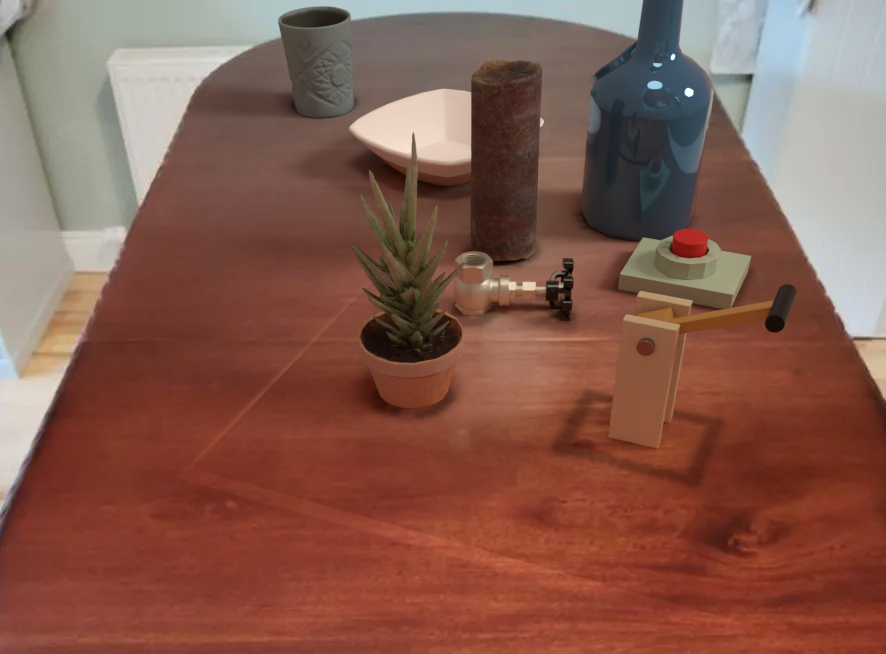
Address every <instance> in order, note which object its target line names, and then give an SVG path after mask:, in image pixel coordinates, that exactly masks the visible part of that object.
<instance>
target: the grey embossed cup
mask: <svg viewBox="0 0 886 654" xmlns="http://www.w3.org/2000/svg"><path fill="white" fill-rule="evenodd" d="M277 24H278V28H279V33H280V37H281V42H282V45H283V49H284V57H285V59H286V65H287V69H288V75H289V79H290V82H291V84H292V85H291V91H292V96H293V101H294V100H295V101H294V107H295V110H296V111H297V113H298V114H300V116H301V115H302V116H304V117H308V118H314V119H327V118H334V117H335V118H336V117H339V116H343V115H346V114H347V113H349V112H351V111H352V110H353V109H354V105H355V94H354V79H353V78H354V69H353V67H354V64H353V63H354V62H353V61H354V60H353V56H352V48H353V47H352V15H351V12H349V11H348V10H346V9H344V8H340V7H336V6H329V5H328V6H324V5H323V6H322V5H321V6H308V7H307V6H306V7H301V8H296V9H292V10H289V11H286V12H285V13H283V14H281V15H280V16H279V17H278V20H277ZM296 102H297V103H296Z"/></svg>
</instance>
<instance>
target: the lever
mask: <svg viewBox="0 0 886 654" xmlns="http://www.w3.org/2000/svg"><path fill="white" fill-rule="evenodd" d="M797 294H798V292H797V288H796V287H795V286H794V285H793V284H790V283H784V284H782V285H780V286H779V288H778V289H777V291H776V294H775V297H774V299H772V300H768V301H761V302H757V303H751V304H744V305H740V306H735V307H731V308H728V309H718V310H712V311H707V312H700V313H695V314H690V315H689V316H684V317H678V318H674V316H673V312H672V309H671V308H666V309H660V310H655V311H649V312H644V313H639V314H638V316H639V317H644V318H649V319H654V320H659V321H664V322H669V323H674V324H679V325H680V329H679V334H684V333H687V334H689V333H695V332H701V331H706V330H713V329H718V328H724V327H730V326H737V325H743V324H747V323H754V322H761V321H764V327H765V329H766V330H767V331H768V332H770V333H773V334H774V333H777V334H778V333H780V332H781V331H783V330H784V328H785V326H786V323H787V322H788V318H789V317H790V313H791V310H792V308H793V305H794V302H795V299H796V297H797Z"/></svg>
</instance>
